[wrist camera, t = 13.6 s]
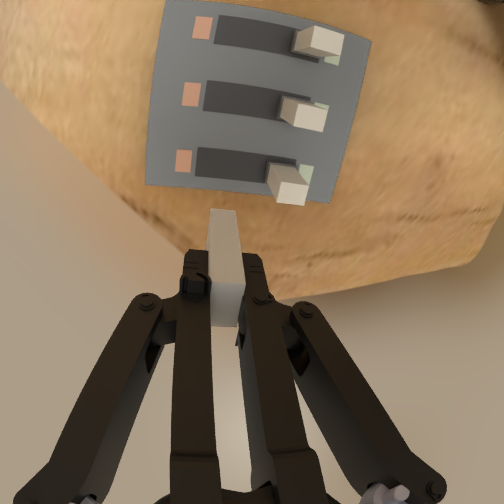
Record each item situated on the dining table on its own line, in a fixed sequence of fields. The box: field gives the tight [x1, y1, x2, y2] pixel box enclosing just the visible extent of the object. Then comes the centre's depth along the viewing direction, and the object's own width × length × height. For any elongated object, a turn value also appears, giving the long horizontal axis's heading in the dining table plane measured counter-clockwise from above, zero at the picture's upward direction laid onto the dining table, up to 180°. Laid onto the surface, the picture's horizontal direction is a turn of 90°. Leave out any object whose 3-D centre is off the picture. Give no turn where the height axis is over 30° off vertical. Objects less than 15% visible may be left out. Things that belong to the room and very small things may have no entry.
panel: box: [145, 0, 371, 204], centre depth 27 cm, size 20×21×1 cm
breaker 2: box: [276, 95, 328, 132], centre depth 24 cm, size 2×3×6 cm
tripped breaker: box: [263, 160, 309, 206], centre depth 28 cm, size 2×3×6 cm
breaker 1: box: [289, 26, 344, 60], centre depth 21 cm, size 2×3×6 cm
